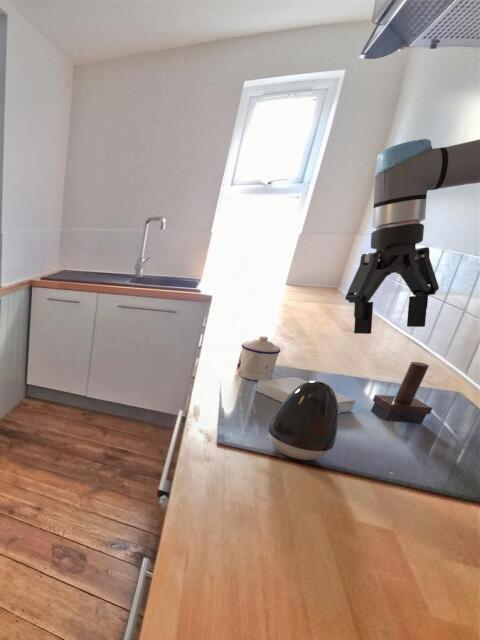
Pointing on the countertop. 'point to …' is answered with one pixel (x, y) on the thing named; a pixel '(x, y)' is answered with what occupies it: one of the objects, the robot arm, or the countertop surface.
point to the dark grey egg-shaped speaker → (306, 422)
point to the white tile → (285, 386)
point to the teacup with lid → (257, 359)
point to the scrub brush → (404, 399)
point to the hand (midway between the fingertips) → (389, 330)
